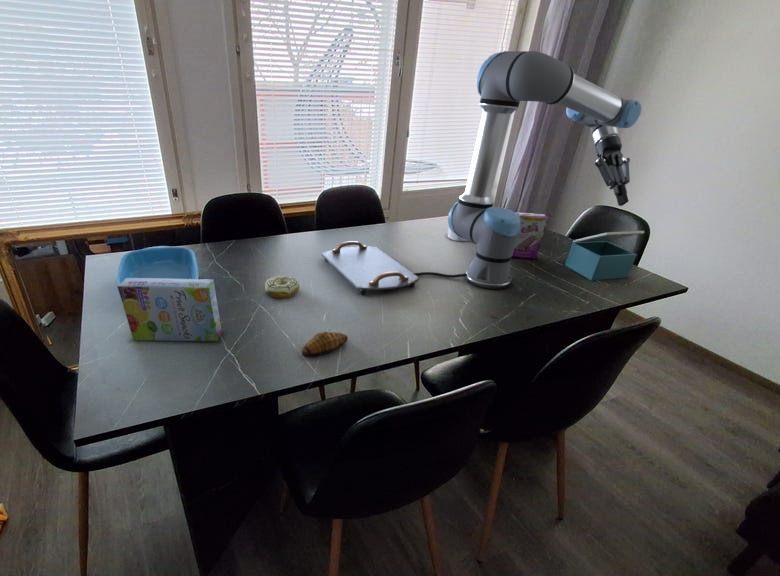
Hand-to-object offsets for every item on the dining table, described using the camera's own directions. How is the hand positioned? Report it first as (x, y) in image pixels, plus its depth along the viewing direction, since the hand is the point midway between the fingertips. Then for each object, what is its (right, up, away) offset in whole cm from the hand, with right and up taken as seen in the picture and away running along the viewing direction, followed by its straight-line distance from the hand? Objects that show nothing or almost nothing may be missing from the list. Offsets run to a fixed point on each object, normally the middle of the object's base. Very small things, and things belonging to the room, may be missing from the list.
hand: (623, 203), depth 142 cm
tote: (-1, -20, +15) cm, 25 cm away
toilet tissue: (-45, +1, +42) cm, 61 cm away
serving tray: (-87, -23, +5) cm, 90 cm away
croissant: (-99, -51, -37) cm, 118 cm away
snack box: (-137, -47, -34) cm, 149 cm away
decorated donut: (-115, -32, -10) cm, 119 cm away
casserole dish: (-152, -31, -11) cm, 155 cm away
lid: (-1, -9, +8) cm, 12 cm away
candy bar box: (-25, -12, +25) cm, 37 cm away
